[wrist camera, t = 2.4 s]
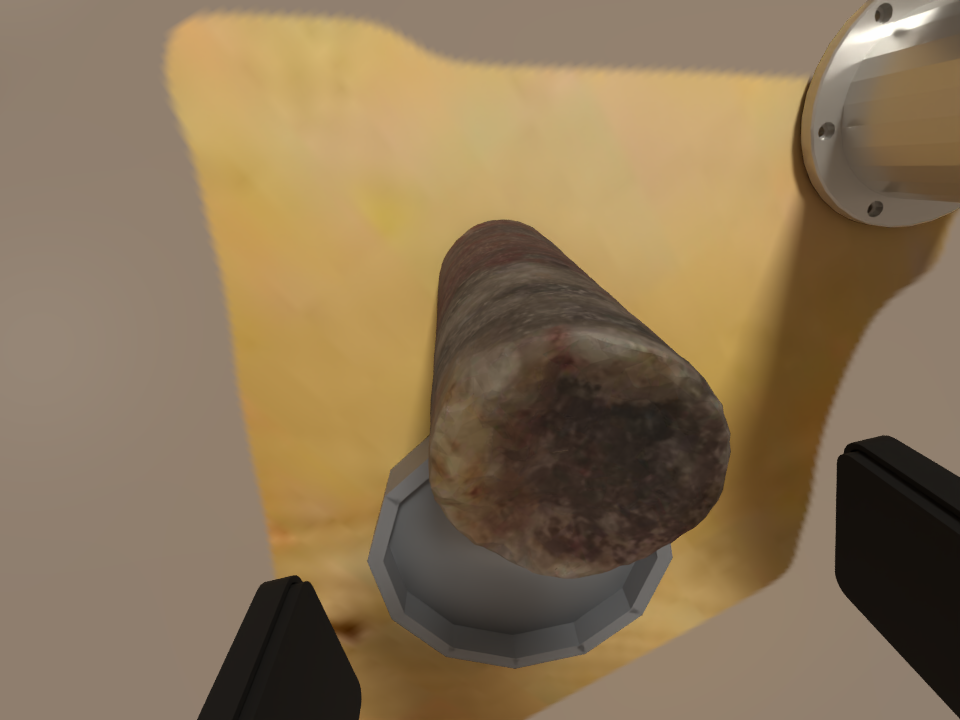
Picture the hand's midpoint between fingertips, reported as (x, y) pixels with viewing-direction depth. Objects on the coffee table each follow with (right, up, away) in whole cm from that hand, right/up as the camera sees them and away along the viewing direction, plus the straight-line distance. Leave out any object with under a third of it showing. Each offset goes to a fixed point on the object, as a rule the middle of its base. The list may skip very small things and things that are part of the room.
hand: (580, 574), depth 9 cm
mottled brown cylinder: (0, +8, +21) cm, 23 cm away
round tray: (+1, -9, +28) cm, 29 cm away
